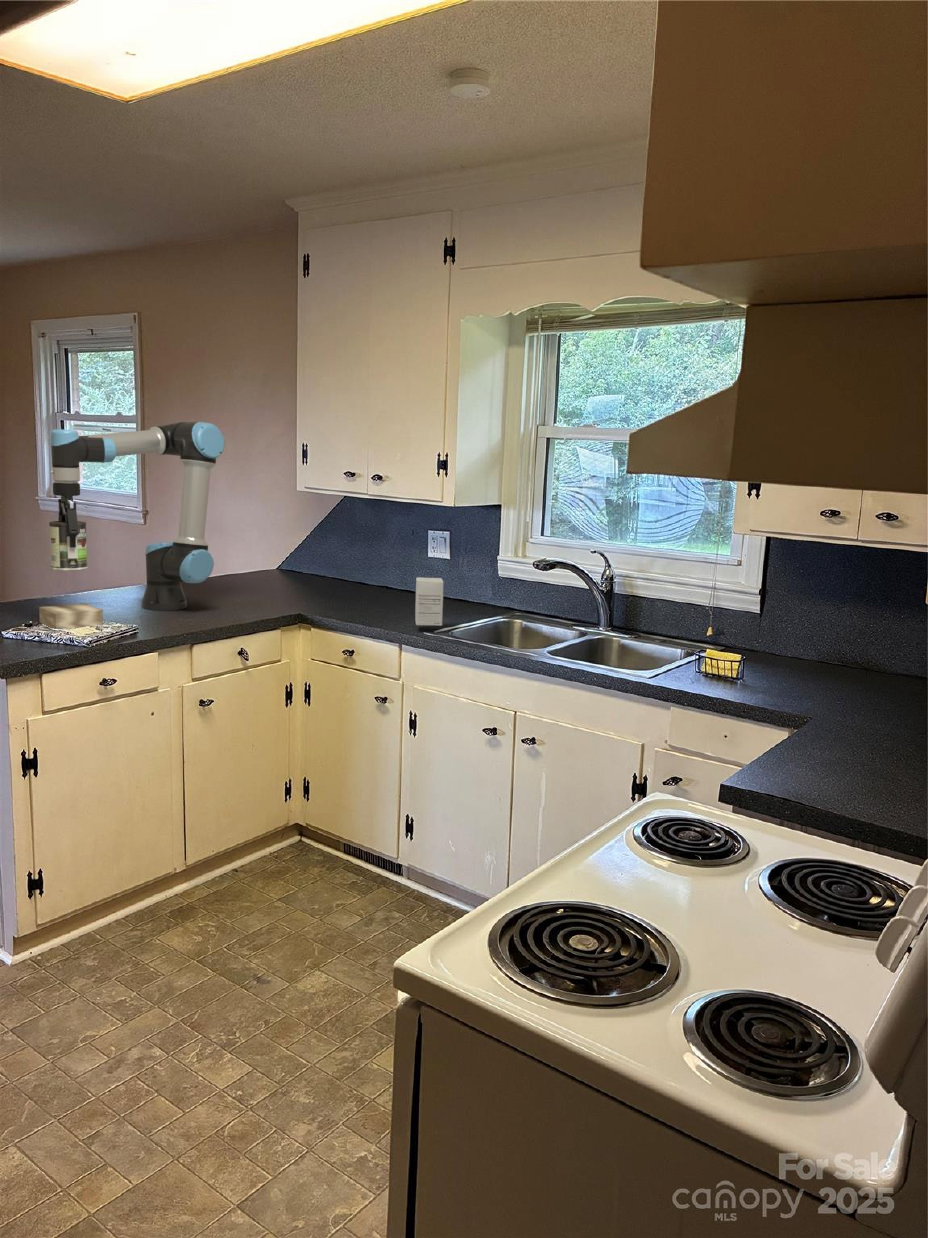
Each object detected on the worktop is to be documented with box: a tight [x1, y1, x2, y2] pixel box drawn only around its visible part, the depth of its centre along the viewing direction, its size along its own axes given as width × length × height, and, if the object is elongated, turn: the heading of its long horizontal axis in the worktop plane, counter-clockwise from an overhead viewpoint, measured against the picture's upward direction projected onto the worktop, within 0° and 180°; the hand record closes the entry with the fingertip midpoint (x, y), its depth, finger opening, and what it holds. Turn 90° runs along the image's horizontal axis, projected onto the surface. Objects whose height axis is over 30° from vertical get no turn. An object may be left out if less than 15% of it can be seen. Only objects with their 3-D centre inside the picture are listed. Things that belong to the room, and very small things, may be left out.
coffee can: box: [48, 520, 88, 572], centre depth 283 cm, size 10×10×14 cm
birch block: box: [38, 603, 104, 629], centre depth 286 cm, size 14×14×6 cm
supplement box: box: [414, 576, 444, 626], centre depth 313 cm, size 9×9×15 cm
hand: (69, 556), depth 283 cm, fingers closed on coffee can, 10 cm apart
